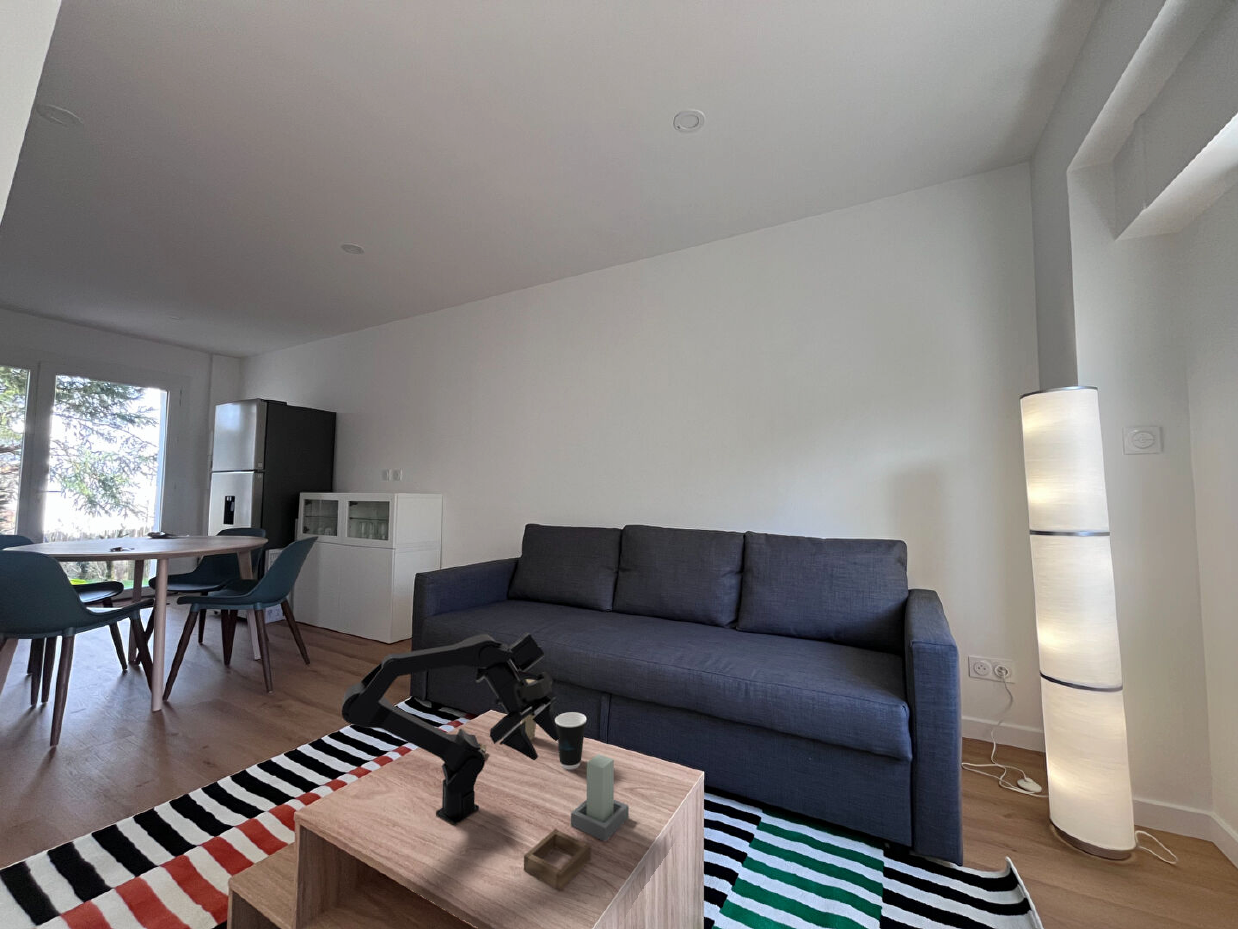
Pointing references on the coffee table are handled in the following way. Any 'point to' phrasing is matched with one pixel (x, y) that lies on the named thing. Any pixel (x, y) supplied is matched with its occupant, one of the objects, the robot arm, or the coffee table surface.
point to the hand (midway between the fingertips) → (547, 749)
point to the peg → (600, 788)
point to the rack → (550, 872)
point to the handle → (530, 722)
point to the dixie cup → (570, 738)
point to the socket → (597, 827)
